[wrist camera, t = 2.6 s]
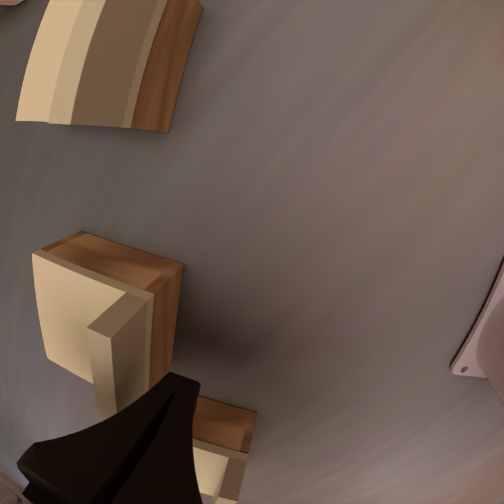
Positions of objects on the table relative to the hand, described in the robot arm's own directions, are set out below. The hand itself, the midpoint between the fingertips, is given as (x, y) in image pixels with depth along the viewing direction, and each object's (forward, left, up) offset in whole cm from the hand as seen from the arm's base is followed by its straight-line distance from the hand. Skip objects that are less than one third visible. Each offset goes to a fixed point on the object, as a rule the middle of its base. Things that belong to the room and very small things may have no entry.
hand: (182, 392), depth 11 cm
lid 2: (+5, 0, -1) cm, 6 cm away
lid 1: (+8, -13, -1) cm, 15 cm away
